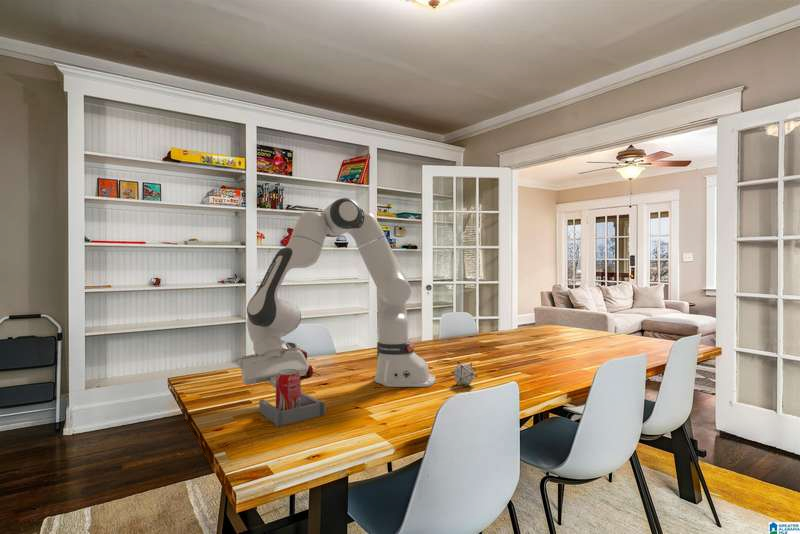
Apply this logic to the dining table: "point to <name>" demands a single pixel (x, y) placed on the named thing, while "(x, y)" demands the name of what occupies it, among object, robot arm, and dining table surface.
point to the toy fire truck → (310, 369)
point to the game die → (464, 374)
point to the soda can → (288, 389)
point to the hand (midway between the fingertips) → (282, 390)
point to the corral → (293, 411)
